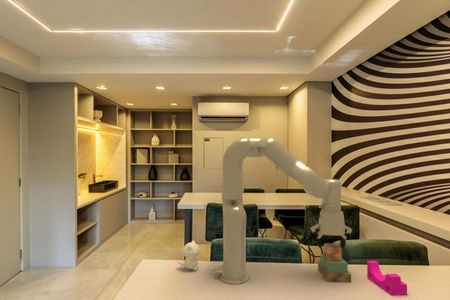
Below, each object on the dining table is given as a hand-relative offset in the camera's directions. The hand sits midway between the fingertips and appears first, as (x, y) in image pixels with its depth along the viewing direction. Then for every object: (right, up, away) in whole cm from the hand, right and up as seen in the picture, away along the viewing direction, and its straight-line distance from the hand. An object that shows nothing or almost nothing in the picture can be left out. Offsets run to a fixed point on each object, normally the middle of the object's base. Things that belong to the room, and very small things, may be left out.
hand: (330, 247), depth 120 cm
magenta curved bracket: (+18, -13, -9) cm, 24 cm away
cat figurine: (-63, -13, +8) cm, 64 cm away
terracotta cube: (+1, -5, 0) cm, 5 cm away
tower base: (+1, -13, 0) cm, 13 cm away
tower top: (+1, -9, 0) cm, 9 cm away
